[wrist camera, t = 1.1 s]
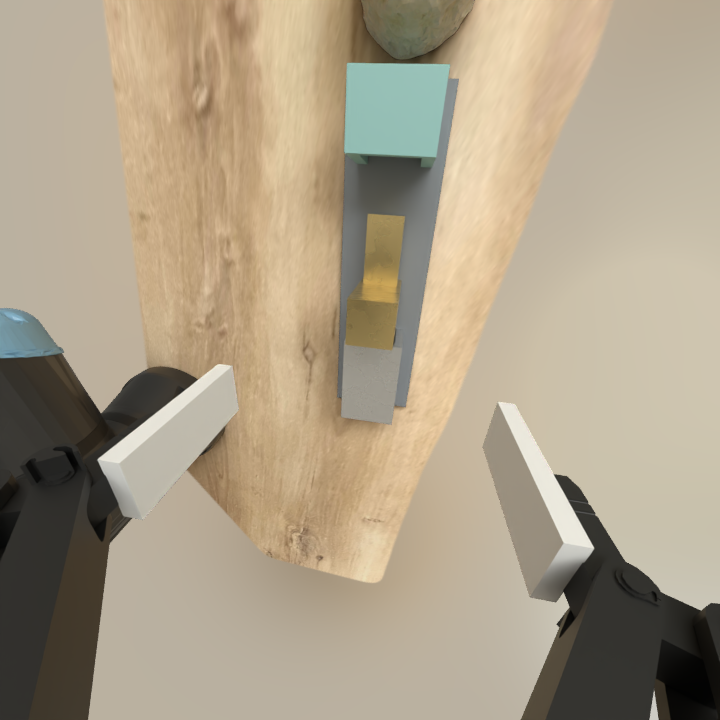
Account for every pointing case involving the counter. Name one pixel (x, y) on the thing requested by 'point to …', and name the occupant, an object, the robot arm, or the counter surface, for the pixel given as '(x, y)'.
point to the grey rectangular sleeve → (370, 381)
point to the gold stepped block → (377, 286)
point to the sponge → (413, 24)
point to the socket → (394, 110)
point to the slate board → (419, 206)
